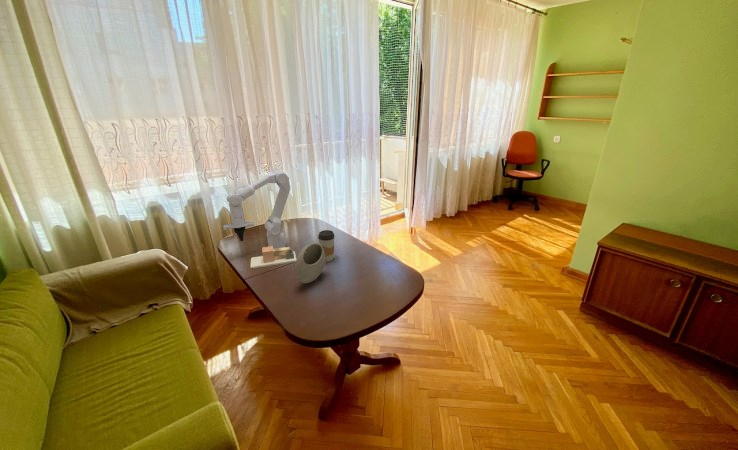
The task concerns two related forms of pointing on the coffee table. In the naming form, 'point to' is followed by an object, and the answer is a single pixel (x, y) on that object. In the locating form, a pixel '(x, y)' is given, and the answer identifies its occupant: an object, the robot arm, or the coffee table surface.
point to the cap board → (259, 261)
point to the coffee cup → (327, 243)
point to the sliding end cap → (268, 254)
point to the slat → (281, 253)
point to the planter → (310, 263)
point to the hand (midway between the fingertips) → (241, 240)
